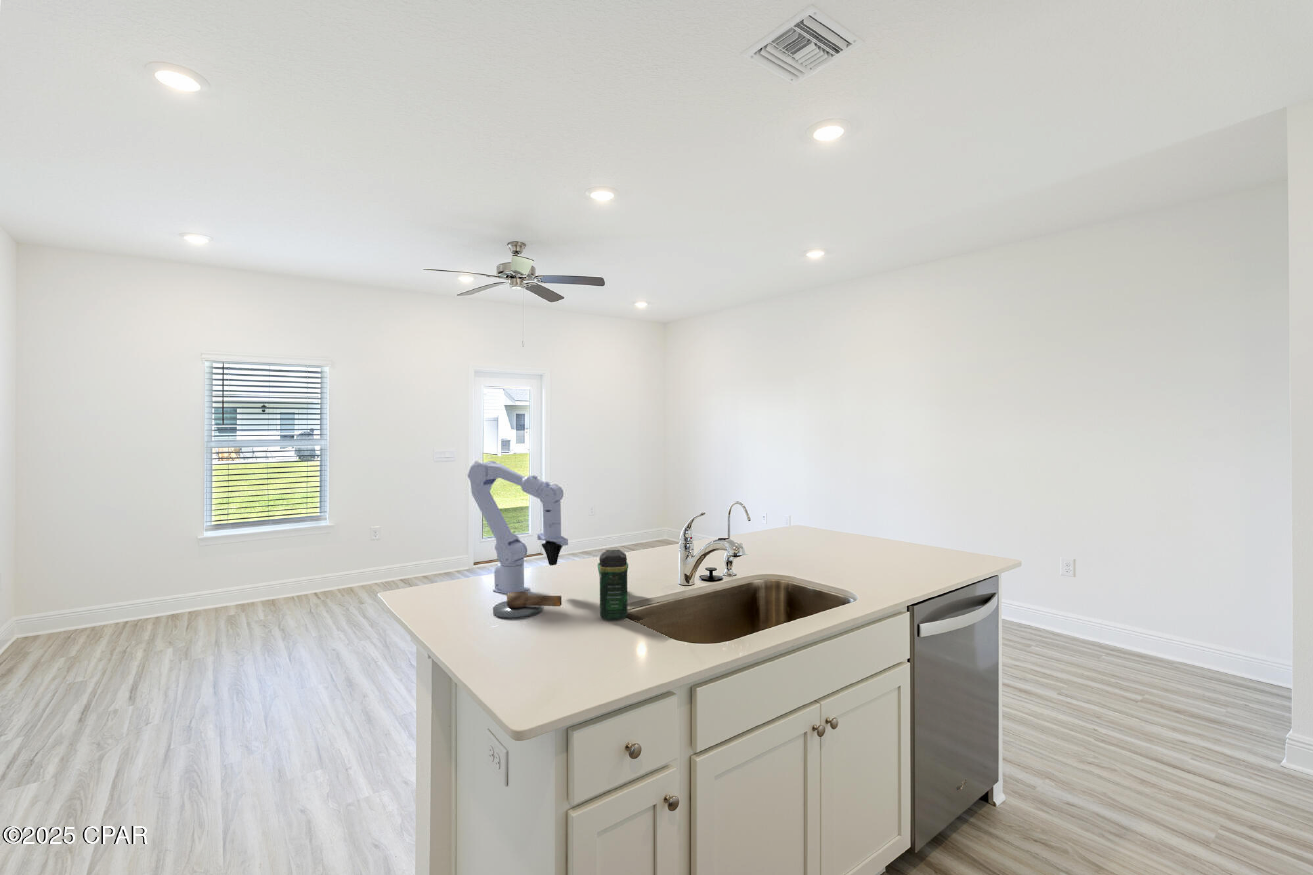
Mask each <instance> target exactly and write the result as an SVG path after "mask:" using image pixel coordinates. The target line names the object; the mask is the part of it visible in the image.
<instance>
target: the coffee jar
mask: <svg viewBox="0 0 1313 875" xmlns="http://www.w3.org/2000/svg"><path fill="white" fill-rule="evenodd" d="M598 563H599V564H600V576H599V615H600V618H601V619H602V620H608V621H610V622H611V621H613V622H614V621H619V620H622V619H623V620H624V619H626V617H627V616H628V571H627V563H628V558H627V554H626V553H625V552H624V551H622V550H621V549H606V550H605V551H604V552H602V553H601V554H600V555H599V562H598Z"/></svg>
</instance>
